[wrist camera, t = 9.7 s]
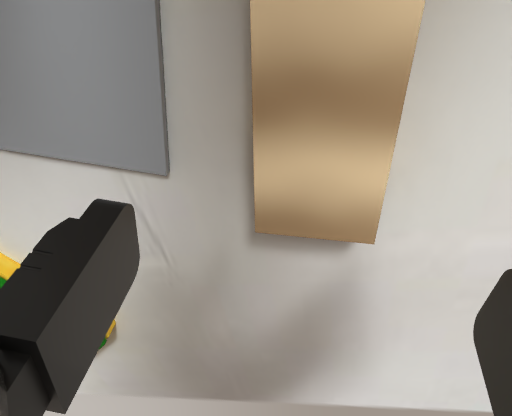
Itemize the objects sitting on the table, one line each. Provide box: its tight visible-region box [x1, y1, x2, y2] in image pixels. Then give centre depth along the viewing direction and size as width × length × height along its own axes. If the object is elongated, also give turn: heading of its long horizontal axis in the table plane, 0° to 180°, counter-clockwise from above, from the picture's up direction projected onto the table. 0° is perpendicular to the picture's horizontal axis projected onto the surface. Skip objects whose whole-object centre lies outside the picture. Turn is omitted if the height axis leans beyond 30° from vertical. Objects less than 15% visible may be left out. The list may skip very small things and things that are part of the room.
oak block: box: [250, 0, 425, 244], centre depth 17 cm, size 14×6×4 cm, turn 1°
